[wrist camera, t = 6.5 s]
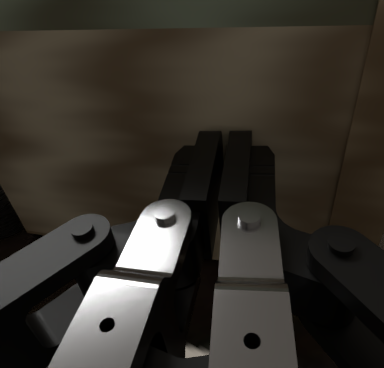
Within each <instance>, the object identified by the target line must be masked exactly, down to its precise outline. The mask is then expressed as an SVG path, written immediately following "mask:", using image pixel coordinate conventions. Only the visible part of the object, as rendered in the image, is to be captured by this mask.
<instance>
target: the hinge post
mask: <svg viewBox="0 0 384 368" xmlns="http://www.w3.org/2000/svg"><path fill="white" fill-rule="evenodd" d="M23 228H24V226H23V224H22V222H21V221H20V219H19V217H18V215H17V213H16V212H15V210H14V208H13V206H12V205H11V203H10V201H9V199H8V197H7V196H6V194H5V192H4V190H3V189H2V187H1V185H0V238H5V237H9V236H11V235H14V234H16V233H17V232H19V231H21V230H22V229H23Z"/></svg>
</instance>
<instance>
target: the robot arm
mask: <svg viewBox="0 0 384 368" xmlns="http://www.w3.org/2000/svg"><path fill="white" fill-rule="evenodd" d="M218 219H219V224H220V237H221V241H220V255H219V270H218V281H216V282H215V288H214V300H213V313H212V326H211V340H210V353H209V355H205V356H199V357H192V358H185V345H186V338H187V334H188V330H189V326H190V322H191V318H192V314H193V310H194V305H195V301H196V297H197V293H198V289H199V285H200V271H201V267H202V261H203V259H208V260H212V257H213V251H214V244H215V238H216V231H217V225H218ZM74 278H75V280H76V282H77V284H75V285H74V286H72V287H71V288H70V289H68V290H67V291H65V292H64V293H62V294H61V295H60V296H58V297H57V298H55V299H54V300H53V301H51V302H50V303H48V304H47V305H45V306H44V307H43V308H41V309H40V310H38V311H37V312H35V313H32V314H28V312H29V311H30V310H31V309H32V308H33V307H34V306H35V305H37V304H38V303H39V302H41V301H42V300H44V299H45V298H47V297H48V296H50V295H51V294H52V293H54V292H55V291H57V290H58V289H60V288H61V287H63V286H64V285H65V284H67V283H68V282H70V281H71V280H73V279H74ZM292 314H294V315H297V316H299V318H300V321H301V323H302V324H303V326H304V327H305V328H306V329H307V331H308V332H309V333H310V334H311V335H312V336H313V338H314V339H315V340H316V341H317V342H318V344H319V345H320V346H321V347H322V348H323V349H324V351H325V352H326V353H327V354H328V355H329V356H330V358H331V359H332V360H333V361H334V362H335V363H336V365H337V366H338V367H339V368H384V250H382V249H381V248H380V247H378V246H377V245H376V244H375V243H373V242H372V241H371V240H369V239H368V238H367V237H365V236H364V235H363V234H361V233H360V232H358V231H356V230H354V229H351V228H349V227H345V226H338V225H331V226H325V227H321V228H319V229H317V230H316V231H314V232H313V233H312V234H309V233H306V232H302V231H299V230H296V229H294V228H292V227H290V226H288V225H287V224H285V223H284V222H283V221H282V220H281V219H280V218H279V216H278V214H277V212H276V192H275V155H274V153H273V152H272V151H271V149H270V148H269V147H268V146H252V131H230V132H229V138H228V144H227V149H226V155H225V161H224V157H223V140H222V132H221V131H199V133H198V136H197V140H196V143H195V146H193V145H184V146H183V147H182V148H181V149H180V150H179V151H177V152H176V153H175V155H174V157H173V160H172V163H171V166H170V168H169V171H168V174H167V176H166V179H165V182H164V185H163V187H162V190H161V193H160V195H159V198H158V201H156V202H154V203H152V204H150V205H148V206H147V207H146V208H145V209H144V210H143V211H142V213H141V215H140V217H139V219H138V220H136V221H133V222H129V223H124V224H119V225H114V226H110V224H109V221H108V220H107V219H106V218H105V217H104V216H102V215H99V214H84V215H81V216H78V217H75V218H73V219H71V220H70V221H68V222H66V223H65V224H63V225H61V226H60V227H58V228H56V229H55V230H53V231H51V232H50V233H48V234H46V235H44V236H43V237H41V238H39V239H38V240H36V241H34V242H33V243H31V244H29V245H28V246H26V247H24V248H23V249H21V250H19V251H18V252H16V253H14V254H13V255H11V256H9V257H8V258H6V259H4V260H3V261H1V262H0V368H298V364H297V356H296V347H295V338H294V330H293V321H292Z"/></svg>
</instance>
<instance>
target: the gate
mask: <svg viewBox="0 0 384 368" xmlns="http://www.w3.org/2000/svg"><path fill="white" fill-rule="evenodd" d="M199 131H221V132H222V140H223V157H224V161H225V155H226V149H227V144H228V138H229V132H230V131H252V146H268V147H269V148H270V149H271V151H272V152H273V153H274V155H275V192H276V212H277V214H278V216H279V218H280V219H281V220H282V221H283V222H284V223H285V224H287V225H288V226H290V227H292V228H294V229H296V230H299V231H302V232H306V233H309V234H312V233H313V232H314V231H316V230H317V229H319V228H321V227H325V226H331V225H338V226H345V227H349V228H351V229H354V230H356V231H358V232H360V233H361V234H363V235H364V236H365V237H367V238H368V239H369V240H371V241H372V242H373V243H375V244H376V245H377V246H378V245H379V243H380V240H381V237H382V235H383V232H384V0H0V185H1V187H2V189H3V190H4V192H5V194H6V196H7V197H8V199H9V201H10V203H11V205H12V206H13V208H14V210H15V212H16V213H17V215H18V217H19V219H20V221H21V222H22V224H23V226H24V228H25V229H26V231H27V233H32V234H38V235H46V234H48V233H50V232H51V231H53V230H55V229H56V228H58V227H60V226H61V225H63V224H65V223H66V222H68V221H70V220H71V219H73V218H75V217H78V216H81V215H84V214H99V215H102V216H104V217H105V218H106V219H107V220H108V221H109V224H110V226H114V225H119V224H124V223H129V222H133V221H136V220H138V219H139V217H140V215H141V213H142V211H143V210H144V209H145V208H146V207H147V206H148V205H150V204H152V203H154V202H156V201H158V198H159V195H160V193H161V190H162V187H163V185H164V182H165V179H166V176H167V174H168V171H169V168H170V166H171V163H172V160H173V157H174V155H175V153H176V152H177V151H179V150H180V149H181V148H182V147H183V146H184V145H193V146H195V143H196V140H197V136H198V133H199ZM220 241H221V237H220V224H219V219H218V225H217V231H216V238H215V244H214V251H213V257H212V259H214V260H219V255H220Z"/></svg>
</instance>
